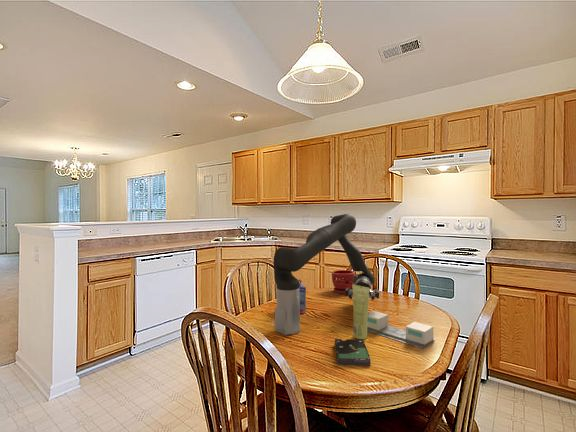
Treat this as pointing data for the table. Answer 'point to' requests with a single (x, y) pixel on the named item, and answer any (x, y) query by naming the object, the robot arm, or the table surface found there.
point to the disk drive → (352, 352)
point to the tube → (360, 310)
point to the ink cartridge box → (302, 298)
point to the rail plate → (397, 335)
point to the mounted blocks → (413, 330)
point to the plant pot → (342, 280)
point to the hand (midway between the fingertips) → (361, 297)
